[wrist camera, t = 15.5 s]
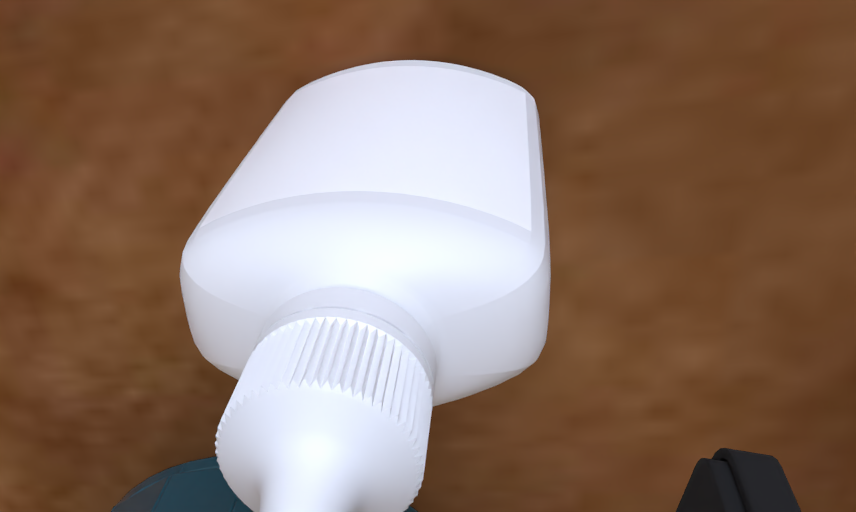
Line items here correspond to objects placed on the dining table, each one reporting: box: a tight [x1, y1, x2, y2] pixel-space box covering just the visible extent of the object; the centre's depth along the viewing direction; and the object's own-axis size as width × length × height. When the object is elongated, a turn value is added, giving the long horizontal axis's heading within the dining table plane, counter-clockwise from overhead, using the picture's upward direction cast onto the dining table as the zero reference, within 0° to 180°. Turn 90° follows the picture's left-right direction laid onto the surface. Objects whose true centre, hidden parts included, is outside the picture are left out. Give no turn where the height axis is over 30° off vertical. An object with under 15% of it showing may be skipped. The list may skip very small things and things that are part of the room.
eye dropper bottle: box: [180, 60, 551, 512], centre depth 13 cm, size 4×6×12 cm
